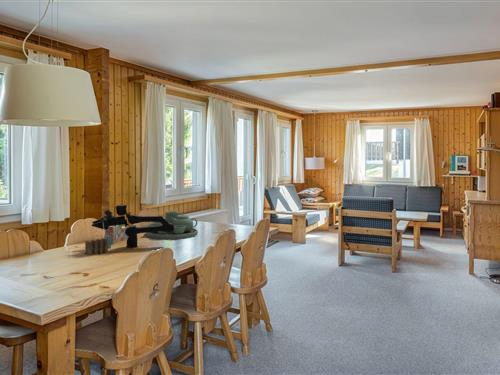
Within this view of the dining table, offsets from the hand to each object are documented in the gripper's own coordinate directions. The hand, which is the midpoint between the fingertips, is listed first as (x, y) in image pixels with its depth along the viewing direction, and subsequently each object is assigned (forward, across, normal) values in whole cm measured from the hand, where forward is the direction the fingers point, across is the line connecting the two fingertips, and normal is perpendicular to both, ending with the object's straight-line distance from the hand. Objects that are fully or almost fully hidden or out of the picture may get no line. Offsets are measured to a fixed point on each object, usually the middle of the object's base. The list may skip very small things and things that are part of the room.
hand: (92, 223), depth 280 cm
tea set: (-54, -40, +24) cm, 72 cm away
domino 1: (+3, +18, +15) cm, 24 cm away
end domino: (-8, 0, +17) cm, 19 cm away
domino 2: (0, +16, +16) cm, 23 cm away
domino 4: (-6, +12, +16) cm, 21 cm away
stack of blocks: (-14, -21, +19) cm, 32 cm away
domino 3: (-3, +14, +16) cm, 22 cm away
